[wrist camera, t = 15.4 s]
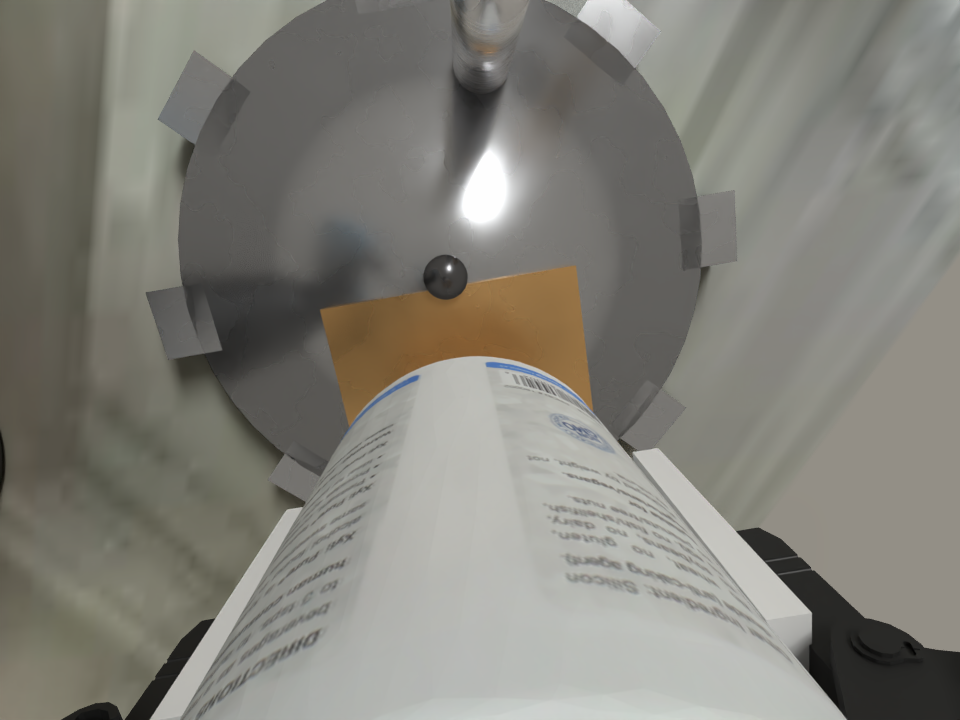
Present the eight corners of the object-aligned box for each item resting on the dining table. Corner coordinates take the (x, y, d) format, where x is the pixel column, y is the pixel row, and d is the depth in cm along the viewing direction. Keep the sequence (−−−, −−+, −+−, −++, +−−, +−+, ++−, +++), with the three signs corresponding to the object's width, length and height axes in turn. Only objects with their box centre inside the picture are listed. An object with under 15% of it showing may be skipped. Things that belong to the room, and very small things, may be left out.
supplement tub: (386, 621, 18) (128, 1914, 4) (300, 390, 16) (-900, 1500, 2) (636, 558, 18) (1265, 1718, 4) (583, 314, 16) (1631, 964, 2)
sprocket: (534, 594, 29) (564, 739, 21) (76, 372, 25) (-121, 441, 16) (831, 171, 24) (1033, 135, 15) (317, -202, 19) (209, -532, 11)
